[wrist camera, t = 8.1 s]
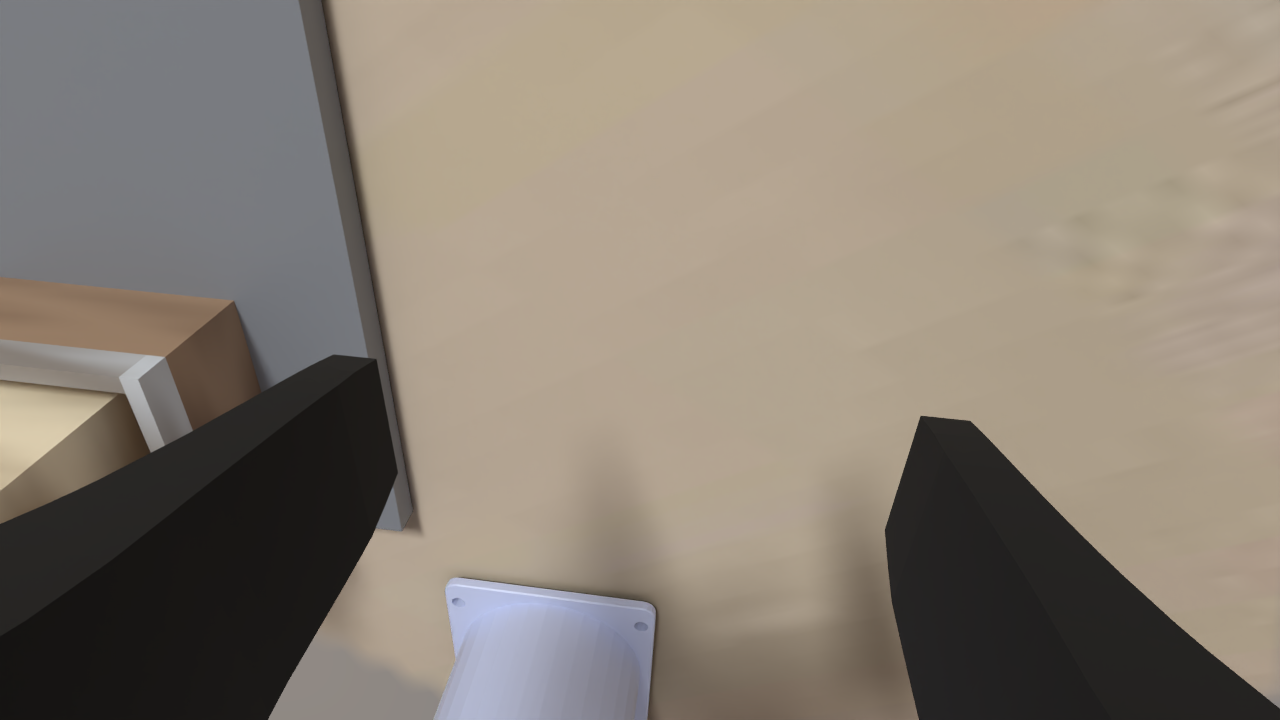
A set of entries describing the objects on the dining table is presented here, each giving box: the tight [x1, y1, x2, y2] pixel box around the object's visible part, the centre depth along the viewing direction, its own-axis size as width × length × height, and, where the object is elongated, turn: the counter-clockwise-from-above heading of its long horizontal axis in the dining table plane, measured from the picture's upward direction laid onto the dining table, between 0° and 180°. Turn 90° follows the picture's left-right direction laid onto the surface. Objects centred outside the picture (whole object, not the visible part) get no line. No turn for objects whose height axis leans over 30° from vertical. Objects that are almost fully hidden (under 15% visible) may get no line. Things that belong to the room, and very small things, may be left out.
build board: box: [0, 0, 413, 531], centre depth 22 cm, size 18×12×1 cm, turn 177°
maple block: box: [0, 380, 151, 524], centre depth 19 cm, size 4×4×5 cm
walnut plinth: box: [0, 277, 261, 452], centre depth 22 cm, size 8×8×4 cm
